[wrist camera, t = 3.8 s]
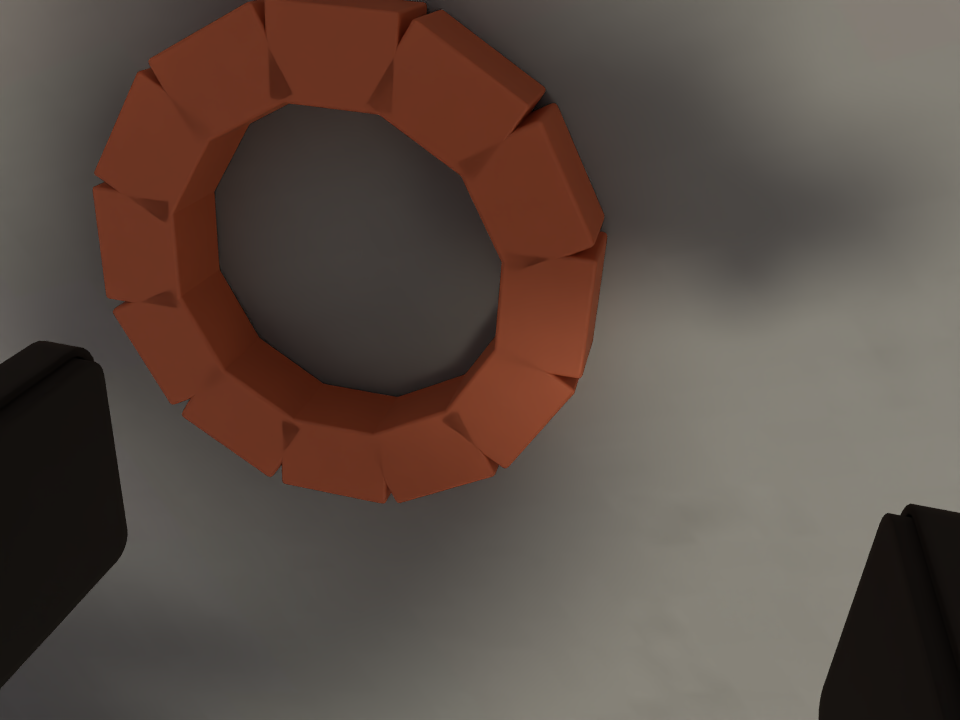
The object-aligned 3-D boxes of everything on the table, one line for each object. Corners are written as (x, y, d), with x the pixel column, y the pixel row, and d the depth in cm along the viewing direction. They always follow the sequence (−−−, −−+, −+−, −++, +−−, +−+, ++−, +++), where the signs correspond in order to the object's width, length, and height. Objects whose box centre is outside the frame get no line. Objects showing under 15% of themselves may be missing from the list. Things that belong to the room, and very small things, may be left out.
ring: (165, 415, 23) (125, 452, 21) (119, -30, 18) (63, -24, 17) (571, 494, 21) (559, 541, 20) (637, 23, 16) (629, 35, 15)
